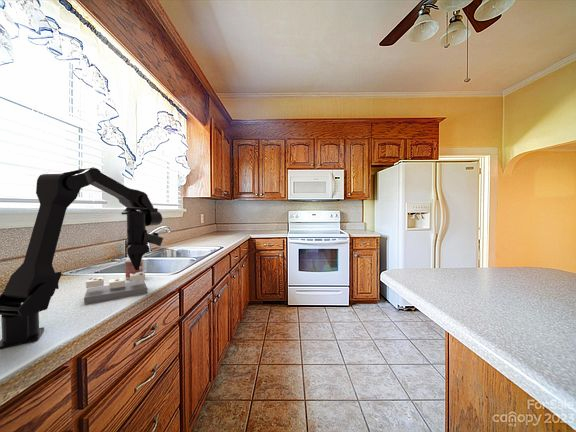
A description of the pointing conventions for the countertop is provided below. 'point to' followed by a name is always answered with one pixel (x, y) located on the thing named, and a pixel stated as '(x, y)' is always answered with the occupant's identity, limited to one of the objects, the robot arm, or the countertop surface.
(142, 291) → the button panel
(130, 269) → the pill bottle
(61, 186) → the robot arm
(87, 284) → the three-dot button
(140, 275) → the two-dot button
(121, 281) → the one-dot button
